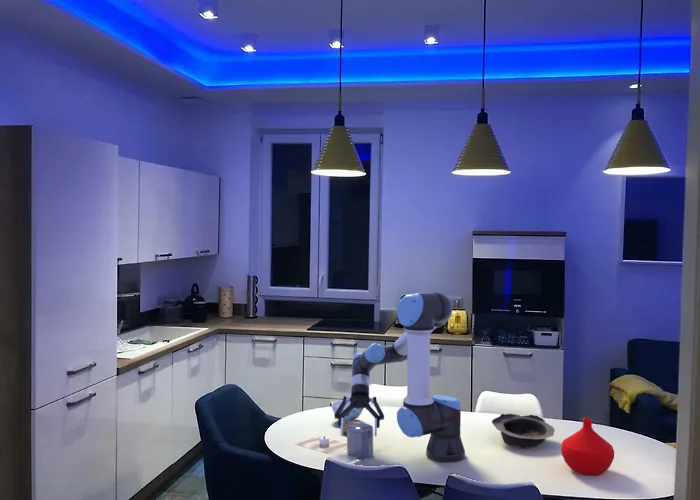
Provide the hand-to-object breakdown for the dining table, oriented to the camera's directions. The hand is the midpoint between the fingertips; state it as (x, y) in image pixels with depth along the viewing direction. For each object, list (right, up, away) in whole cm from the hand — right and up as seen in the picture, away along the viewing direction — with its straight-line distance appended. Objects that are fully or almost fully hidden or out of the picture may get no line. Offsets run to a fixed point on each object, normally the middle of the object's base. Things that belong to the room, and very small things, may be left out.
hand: (358, 434), depth 248 cm
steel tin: (+1, -7, -2) cm, 8 cm away
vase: (+84, -8, -20) cm, 86 cm away
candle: (-14, -6, +7) cm, 17 cm away
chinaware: (-4, -6, +43) cm, 44 cm away
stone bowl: (+69, -7, +12) cm, 71 cm away
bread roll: (-2, -7, +21) cm, 23 cm away
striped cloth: (-14, -7, +7) cm, 17 cm away
